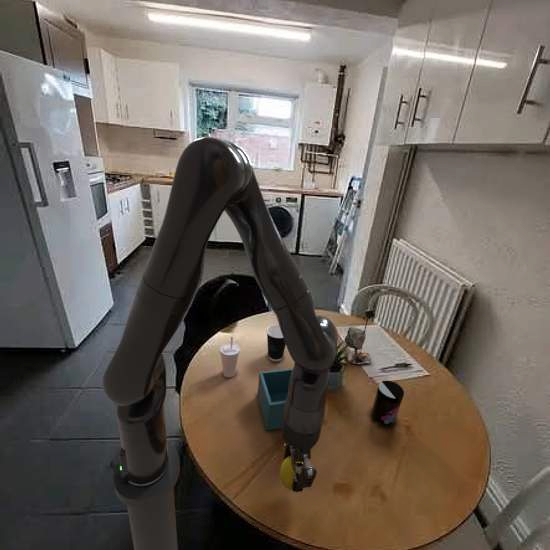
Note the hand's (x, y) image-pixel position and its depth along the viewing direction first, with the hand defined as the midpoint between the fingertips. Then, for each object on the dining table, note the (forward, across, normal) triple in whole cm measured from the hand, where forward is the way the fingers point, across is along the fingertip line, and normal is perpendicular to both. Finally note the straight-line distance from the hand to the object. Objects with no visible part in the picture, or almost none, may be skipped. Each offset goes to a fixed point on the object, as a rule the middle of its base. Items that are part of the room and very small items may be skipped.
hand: (292, 474), depth 65 cm
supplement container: (+5, -15, +32) cm, 36 cm away
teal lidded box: (+6, -22, +6) cm, 24 cm away
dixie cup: (+6, -46, +8) cm, 47 cm away
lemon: (+4, 0, 0) cm, 4 cm away
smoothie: (+6, -39, -9) cm, 41 cm away
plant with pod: (+6, -41, +37) cm, 55 cm away
